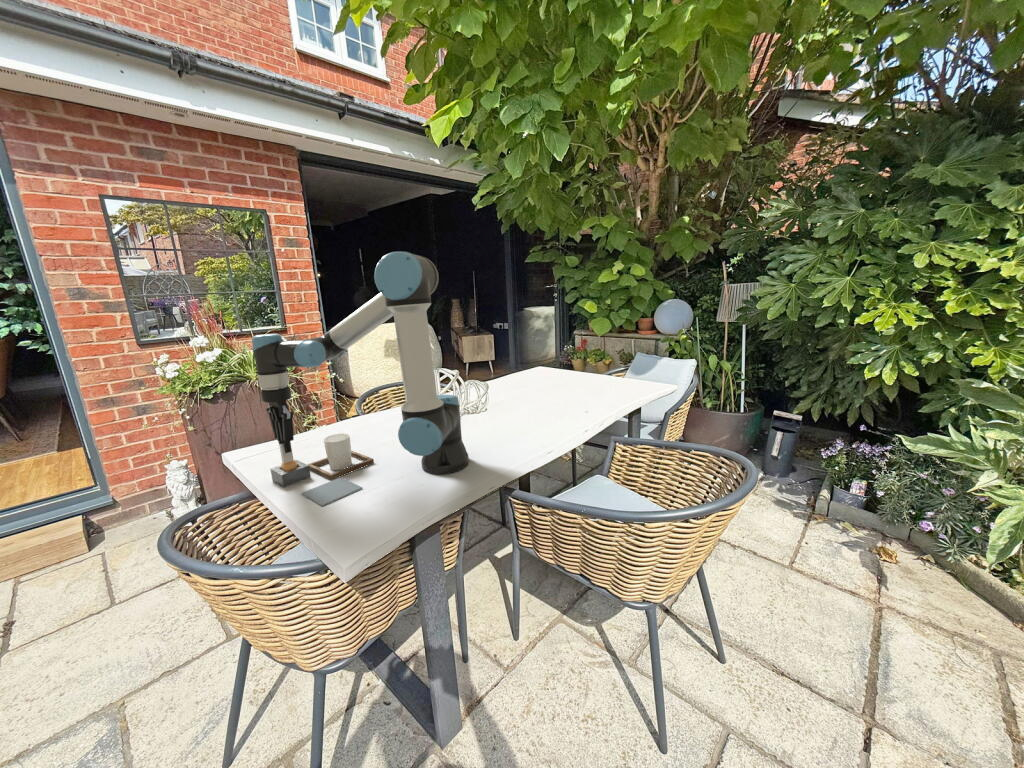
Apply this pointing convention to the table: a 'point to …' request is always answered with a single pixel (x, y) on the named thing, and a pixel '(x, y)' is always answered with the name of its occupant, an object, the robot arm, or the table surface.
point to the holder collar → (330, 476)
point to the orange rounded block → (289, 465)
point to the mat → (331, 491)
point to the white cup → (338, 451)
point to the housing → (290, 474)
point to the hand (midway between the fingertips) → (288, 461)
